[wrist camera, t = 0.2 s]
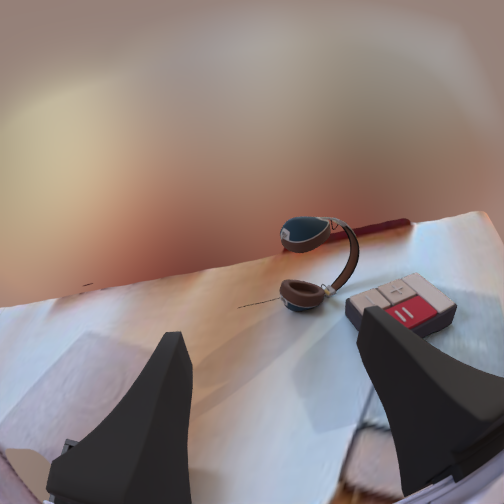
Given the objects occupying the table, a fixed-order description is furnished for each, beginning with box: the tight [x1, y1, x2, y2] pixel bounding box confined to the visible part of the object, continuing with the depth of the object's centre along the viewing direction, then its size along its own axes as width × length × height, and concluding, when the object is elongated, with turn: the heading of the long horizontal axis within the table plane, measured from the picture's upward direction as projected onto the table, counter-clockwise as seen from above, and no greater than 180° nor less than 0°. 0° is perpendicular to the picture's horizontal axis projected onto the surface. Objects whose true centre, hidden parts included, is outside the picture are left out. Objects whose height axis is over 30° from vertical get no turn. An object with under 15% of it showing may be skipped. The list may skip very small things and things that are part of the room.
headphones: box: [239, 217, 359, 311], centre depth 42 cm, size 6×15×22 cm
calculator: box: [345, 273, 457, 338], centre depth 38 cm, size 11×4×15 cm
